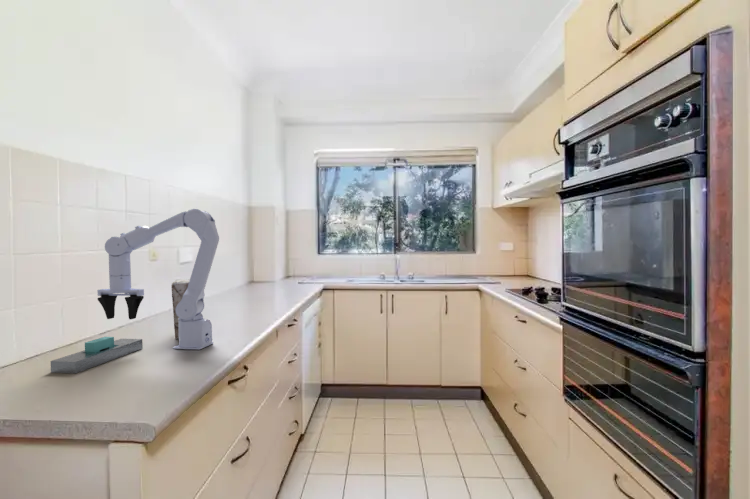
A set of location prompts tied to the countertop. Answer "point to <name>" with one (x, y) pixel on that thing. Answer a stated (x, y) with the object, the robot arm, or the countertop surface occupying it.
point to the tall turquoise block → (99, 344)
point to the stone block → (178, 299)
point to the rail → (94, 357)
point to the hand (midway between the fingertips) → (121, 318)
